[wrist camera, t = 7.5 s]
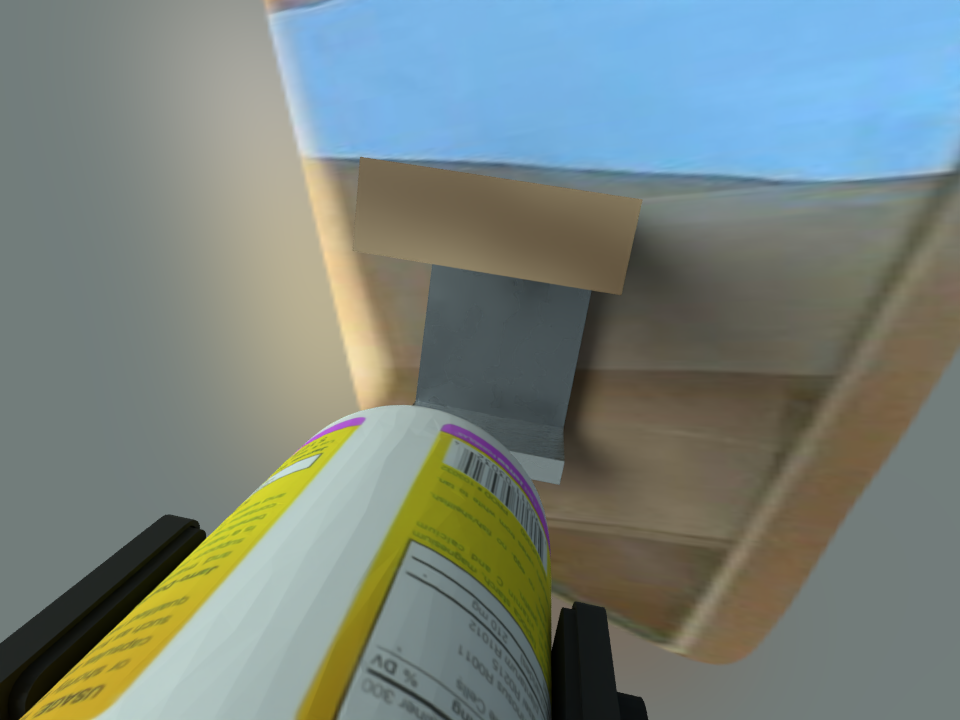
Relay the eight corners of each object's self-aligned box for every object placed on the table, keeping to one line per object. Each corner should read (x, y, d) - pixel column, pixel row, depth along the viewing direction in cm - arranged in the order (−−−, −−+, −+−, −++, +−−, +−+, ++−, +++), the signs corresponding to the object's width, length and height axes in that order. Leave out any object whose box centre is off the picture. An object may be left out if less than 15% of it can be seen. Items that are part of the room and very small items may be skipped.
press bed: (447, 177, 35) (424, 172, 29) (607, 202, 35) (618, 202, 28) (418, 413, 40) (393, 452, 34) (558, 439, 39) (559, 484, 33)
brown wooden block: (450, 177, 34) (360, 156, 18) (601, 200, 33) (642, 199, 17) (444, 228, 35) (352, 250, 19) (591, 252, 34) (621, 295, 18)
